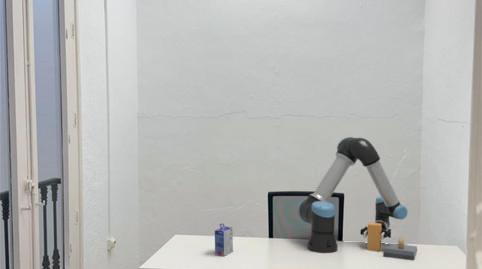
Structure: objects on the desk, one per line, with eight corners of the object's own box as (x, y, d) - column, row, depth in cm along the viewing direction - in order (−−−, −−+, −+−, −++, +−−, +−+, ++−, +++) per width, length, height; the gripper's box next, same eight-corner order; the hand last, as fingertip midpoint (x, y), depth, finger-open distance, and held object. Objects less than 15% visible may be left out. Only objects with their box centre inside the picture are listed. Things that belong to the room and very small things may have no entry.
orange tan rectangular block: (367, 249, 236) (367, 224, 235) (369, 247, 241) (369, 222, 241) (379, 251, 233) (379, 225, 233) (381, 248, 238) (381, 223, 238)
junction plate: (383, 256, 224) (383, 242, 223) (388, 247, 242) (388, 233, 242) (413, 260, 218) (414, 245, 218) (416, 250, 236) (417, 236, 236)
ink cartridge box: (223, 250, 231) (223, 221, 231) (233, 251, 228) (233, 222, 228) (214, 255, 222) (214, 225, 222) (224, 256, 219) (224, 226, 219)
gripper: (399, 236, 249) (394, 246, 228) (360, 232, 258) (352, 241, 237) (399, 223, 249) (394, 231, 228) (360, 219, 258) (352, 227, 237)
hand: (373, 236), depth 233 cm, fingers open, 8 cm apart
